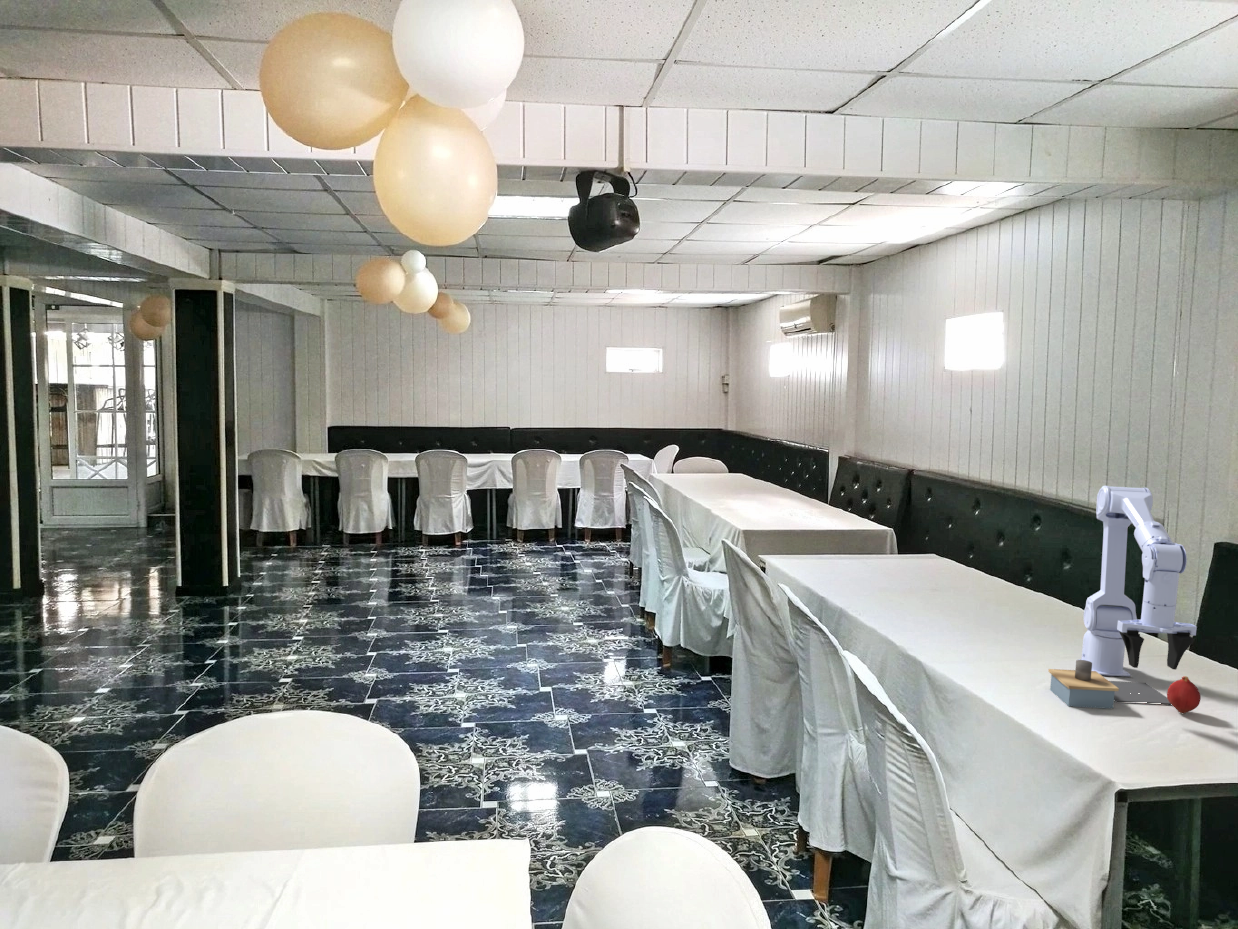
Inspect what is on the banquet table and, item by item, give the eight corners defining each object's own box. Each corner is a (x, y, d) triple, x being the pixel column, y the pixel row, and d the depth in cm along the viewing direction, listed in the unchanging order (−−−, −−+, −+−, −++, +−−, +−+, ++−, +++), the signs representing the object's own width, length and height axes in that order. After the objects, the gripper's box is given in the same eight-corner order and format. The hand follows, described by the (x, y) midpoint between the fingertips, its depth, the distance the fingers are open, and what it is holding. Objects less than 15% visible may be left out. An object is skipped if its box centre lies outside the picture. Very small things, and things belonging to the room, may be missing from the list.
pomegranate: (1167, 705, 180) (1171, 668, 179) (1200, 712, 177) (1204, 675, 176) (1163, 713, 176) (1167, 676, 175) (1196, 721, 172) (1201, 683, 171)
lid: (1048, 671, 187) (1049, 653, 187) (1095, 673, 187) (1097, 655, 186) (1068, 688, 177) (1070, 669, 177) (1118, 691, 177) (1120, 671, 176)
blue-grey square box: (1050, 690, 187) (1051, 672, 187) (1092, 692, 187) (1094, 674, 186) (1068, 706, 178) (1070, 688, 178) (1113, 708, 178) (1114, 690, 177)
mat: (1090, 681, 193) (1090, 679, 193) (1145, 684, 192) (1145, 682, 192) (1116, 702, 181) (1117, 700, 181) (1175, 705, 180) (1175, 703, 180)
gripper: (1132, 606, 169) (1126, 672, 171) (1208, 609, 168) (1201, 675, 170) (1114, 596, 176) (1108, 660, 178) (1187, 599, 175) (1180, 663, 177)
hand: (1152, 667), depth 174 cm, fingers open, 7 cm apart
